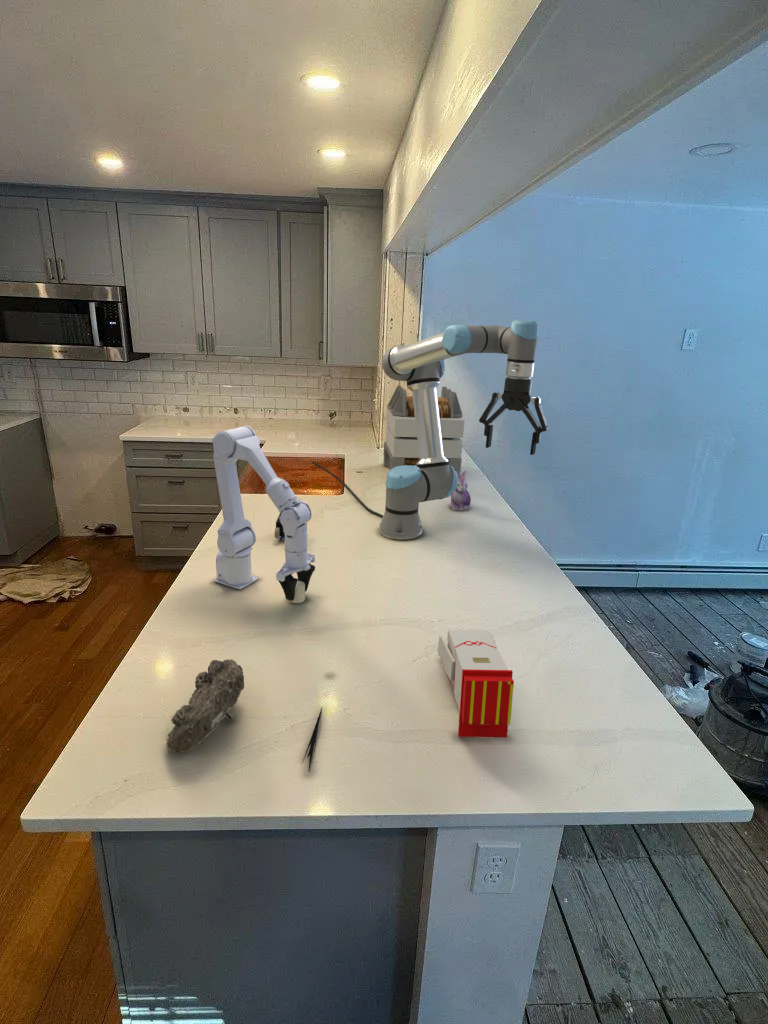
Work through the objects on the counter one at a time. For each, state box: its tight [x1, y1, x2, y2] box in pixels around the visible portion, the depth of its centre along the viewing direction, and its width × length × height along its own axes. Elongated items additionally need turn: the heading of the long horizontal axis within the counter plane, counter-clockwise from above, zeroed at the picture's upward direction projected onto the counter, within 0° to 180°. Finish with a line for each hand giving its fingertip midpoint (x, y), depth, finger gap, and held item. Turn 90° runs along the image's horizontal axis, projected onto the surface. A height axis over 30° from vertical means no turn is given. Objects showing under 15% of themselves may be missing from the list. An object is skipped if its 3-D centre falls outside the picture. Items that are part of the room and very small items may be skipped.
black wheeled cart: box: [273, 512, 285, 543], centre depth 192 cm, size 7×8×15 cm
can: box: [288, 581, 306, 604], centre depth 152 cm, size 4×4×4 cm
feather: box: [301, 673, 332, 771], centre depth 108 cm, size 2×28×2 cm
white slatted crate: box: [383, 384, 465, 476], centre depth 268 cm, size 34×33×41 cm
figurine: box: [449, 470, 472, 511], centre depth 227 cm, size 9×10×15 cm
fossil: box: [166, 658, 245, 754], centre depth 106 cm, size 22×10×15 cm
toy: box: [437, 628, 515, 738], centre depth 117 cm, size 12×13×30 cm
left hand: (296, 594), depth 152 cm, fingers open, 5 cm apart
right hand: (509, 450), depth 168 cm, fingers open, 13 cm apart
